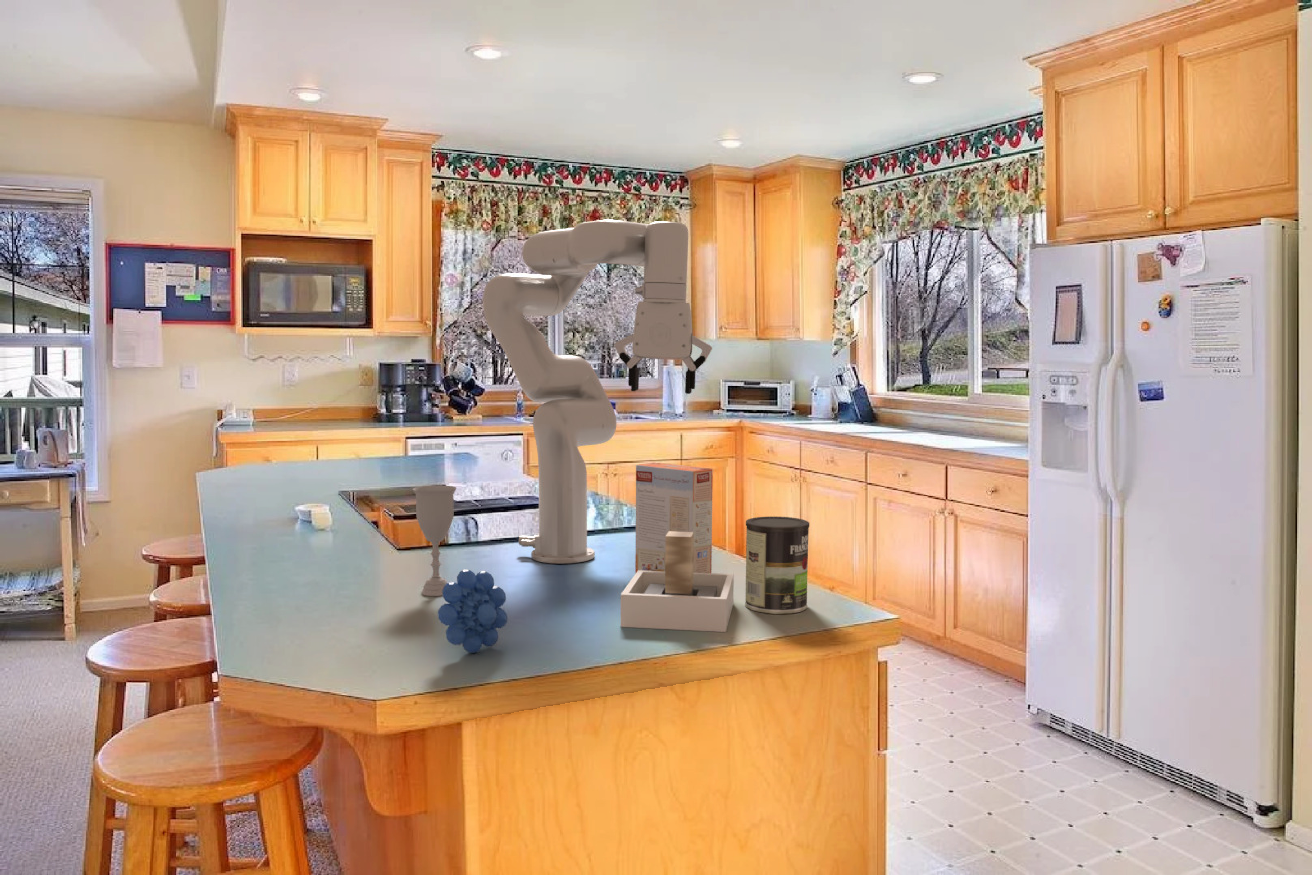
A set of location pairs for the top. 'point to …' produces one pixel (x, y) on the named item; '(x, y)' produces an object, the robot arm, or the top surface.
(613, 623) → the top surface
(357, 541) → the top surface
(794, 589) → the coffee can
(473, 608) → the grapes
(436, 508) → the chalice
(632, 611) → the walled box
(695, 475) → the cracker box
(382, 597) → the top surface
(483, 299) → the robot arm
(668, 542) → the peg
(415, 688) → the top surface
